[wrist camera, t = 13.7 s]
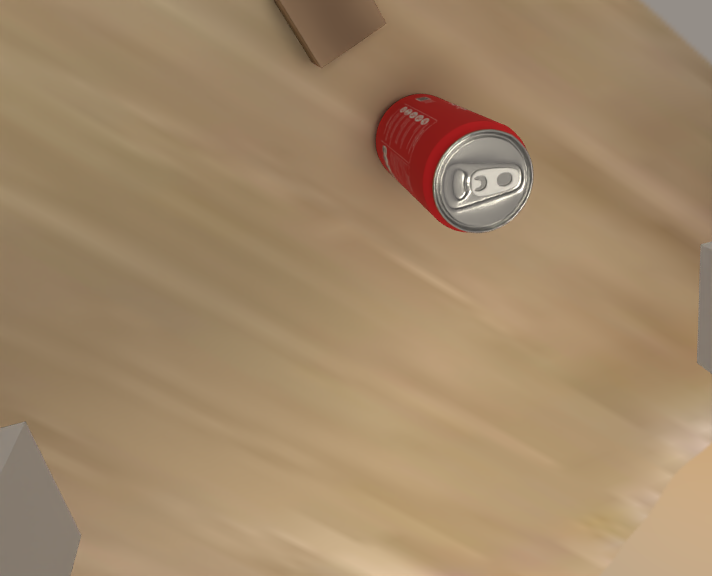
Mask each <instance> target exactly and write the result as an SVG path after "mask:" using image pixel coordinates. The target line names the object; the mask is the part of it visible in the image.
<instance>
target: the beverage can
mask: <svg viewBox="0 0 712 576" xmlns="http://www.w3.org/2000/svg"><path fill="white" fill-rule="evenodd" d="M376 149H377V153H378V156H379V159H380V161H381V163H382V164H383V166H384V167H385V168H386V170H387V171H388V172H389V173H390V174H391V175H392V176H393V177H394V178H395V179H396V180H397V181H399V182H400V183H401V184H402V185H403V186H404V187H405V188H406V189H407V190H408V191H409V192H410V193H411V194H412V195H413V196H414V197H415V198H416V199H417V200H418V201H419V202H420V203H421V204H422V205H423V206H424V207H425V208H426V209H427V210H428V211H429V212H430V213H431V214H432V215H433V216H434V217H435V218H436V219H437V220H438V221H439V222H441V223H442V224H443V225H445V226H447V227H449V228H451V229H453V230H456V231H461V232H470V233H484V232H489V231H493V230H495V229H498V228H500V227H502V226H504V225H505V224H507V223H508V222H510V221H511V220H512V219H513V218H514V217H515V216H516V215H517V214H518V213H519V212H520V211H521V210H522V208H523V207H524V205H525V203H526V202H527V200H528V198H529V195H530V192H531V189H532V184H533V166H532V162H531V158H530V156H529V154H528V152H527V149H526V147H525V145H524V144H523V142H522V140H521V139H520V138H519V137H518V135H517V134H516V133H515V132H514V131H512V130H511V129H510V128H509V127H507V126H505V125H503V124H501V123H498V122H496V121H493V120H491V119H488V118H486V117H484V116H481V115H479V114H476V113H474V112H472V111H469V110H467V109H464V108H462V107H460V106H457V105H455V104H452V103H450V102H448V101H445V100H443V99H440V98H438V97H435V96H432V95H427V94H415V95H410V96H407V97H404V98H402V99H400V100H399V101H397V102H396V103H394V104H393V105H392V106H391V107H390V108H389V109H388V110H387V111H386V112H385V114H384V115H383V117H382V119H381V121H380V123H379V126H378V129H377V134H376Z"/></svg>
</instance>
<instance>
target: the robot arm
mask: <svg viewBox="0 0 712 576" xmlns="http://www.w3.org/2000/svg"><path fill="white" fill-rule="evenodd" d="M697 363H698V364H699V365H701V366H702V367H703V368H705V369H706V370H707V371H709V372H710V373H711V374H712V242H708V243H704V244H701V252H700V285H699V317H698V349H697ZM80 538H81V534H80V532H79V530H78V528H77V526H76V524H75V521H74V519H73V517H72V515H71V513H70V511H69V509H68V507H67V505H66V503H65V501H64V499H63V497H62V495H61V493H60V491H59V489H58V487H57V485H56V483H55V481H54V479H53V477H52V475H51V473H50V471H49V469H48V467H47V465H46V462H45V460H44V458H43V456H42V454H41V452H40V450H39V448H38V446H37V444H36V442H35V440H34V438H33V436H32V434H31V432H30V430H29V428H28V426H27V424H26V422H22V423H18V424H14V425H10V426H7V427H3V428H0V576H70V575H71V572H72V568H73V564H74V560H75V557H76V553H77V549H78V545H79V542H80Z"/></svg>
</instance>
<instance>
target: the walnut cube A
mask: <svg viewBox="0 0 712 576" xmlns="http://www.w3.org/2000/svg"><path fill="white" fill-rule="evenodd" d="M274 1H275V3H276V5H277V6H278V8H279V9H280V11H281V13H282V14H283V16H284V18H285V19H286V21H287V22H288V24H289V26H290V27H291V29H292V30H293V32H294V34H295V35H296V37H297V39H298V40H299V42H300V43H301V45H302V47H303V48H304V50H305V52H306V53H307V55H308V56H309V58H310V60H311V61H312V63H314V64H316V65H317V66H319V67H320V68H323V67H324V66H325V65H327V64H328V63H330V62H331V61H333V60H334V59H336V58H337V57H339V56H340V55H341V54H343V53H344V52H346V51H347V50H349V49H350V48H352V47H353V46H355V45H356V44H358V43H359V42H360V41H362V40H363V39H365V38H366V37H368V36H369V35H371V34H372V33H374V32H375V31H377V30H378V29H379V28H381V27H382V26H384V25H385V24H386V22H385V20H384V18H383V16H382V15H381V13H380V11H379V9H378V7H377V5H376V4H375V2H374V0H274Z"/></svg>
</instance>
